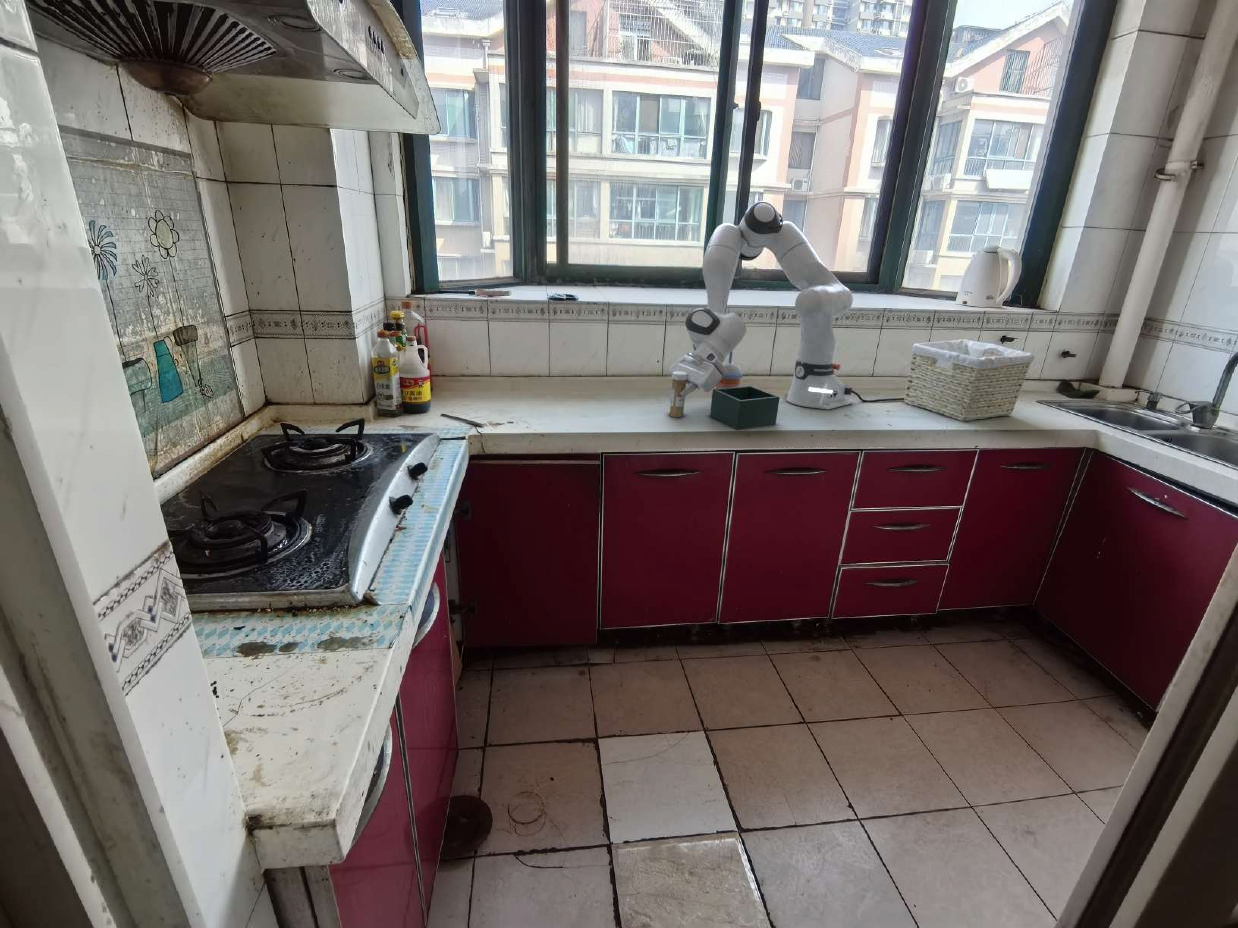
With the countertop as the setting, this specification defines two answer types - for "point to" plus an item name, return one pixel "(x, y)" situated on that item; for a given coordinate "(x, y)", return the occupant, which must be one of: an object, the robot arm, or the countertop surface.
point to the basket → (966, 378)
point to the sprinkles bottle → (677, 394)
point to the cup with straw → (730, 375)
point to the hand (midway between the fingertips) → (676, 393)
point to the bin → (744, 407)
